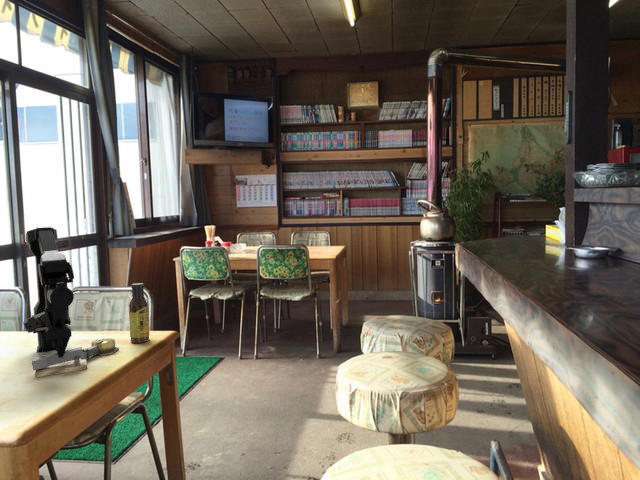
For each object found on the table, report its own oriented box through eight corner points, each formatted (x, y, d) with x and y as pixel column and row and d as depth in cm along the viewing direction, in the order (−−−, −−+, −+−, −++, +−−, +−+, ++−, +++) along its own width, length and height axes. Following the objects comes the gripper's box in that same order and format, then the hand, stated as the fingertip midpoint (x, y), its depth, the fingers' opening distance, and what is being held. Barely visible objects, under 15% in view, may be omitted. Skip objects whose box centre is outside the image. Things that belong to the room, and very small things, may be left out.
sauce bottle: (143, 344, 167) (139, 285, 165) (126, 343, 168) (123, 285, 167) (153, 338, 173) (150, 282, 172) (137, 338, 175) (134, 282, 173)
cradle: (35, 377, 137) (34, 366, 137) (36, 370, 143) (35, 359, 143) (87, 368, 143) (86, 358, 143) (86, 362, 149) (85, 352, 149)
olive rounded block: (100, 346, 164) (100, 337, 164) (119, 346, 163) (119, 337, 162) (73, 359, 151) (72, 349, 151) (93, 360, 149) (92, 350, 149)
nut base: (87, 350, 162) (87, 349, 162) (117, 345, 166) (117, 345, 166) (89, 357, 154) (89, 356, 154) (120, 352, 158) (120, 351, 158)
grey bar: (33, 370, 138) (31, 361, 138) (34, 366, 141) (32, 358, 141) (83, 357, 144) (81, 349, 144) (83, 354, 147) (81, 346, 147)
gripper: (26, 300, 146) (30, 352, 147) (21, 312, 129) (26, 370, 131) (68, 295, 151) (72, 346, 152) (69, 307, 135) (73, 363, 136)
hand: (60, 355), depth 143 cm, fingers closed on grey bar, 3 cm apart
